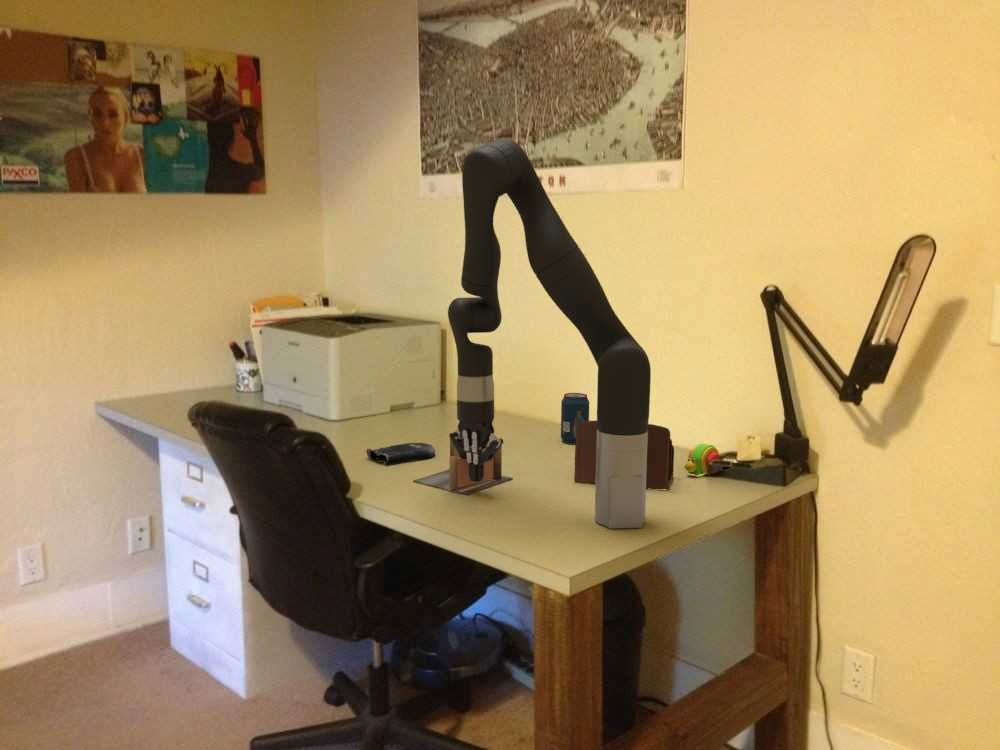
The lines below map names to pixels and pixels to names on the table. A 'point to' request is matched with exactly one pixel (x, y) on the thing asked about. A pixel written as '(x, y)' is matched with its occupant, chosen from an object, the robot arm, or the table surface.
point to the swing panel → (466, 472)
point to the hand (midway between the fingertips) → (476, 480)
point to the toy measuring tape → (701, 458)
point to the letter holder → (657, 455)
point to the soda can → (573, 415)
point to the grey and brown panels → (443, 482)
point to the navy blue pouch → (402, 452)
